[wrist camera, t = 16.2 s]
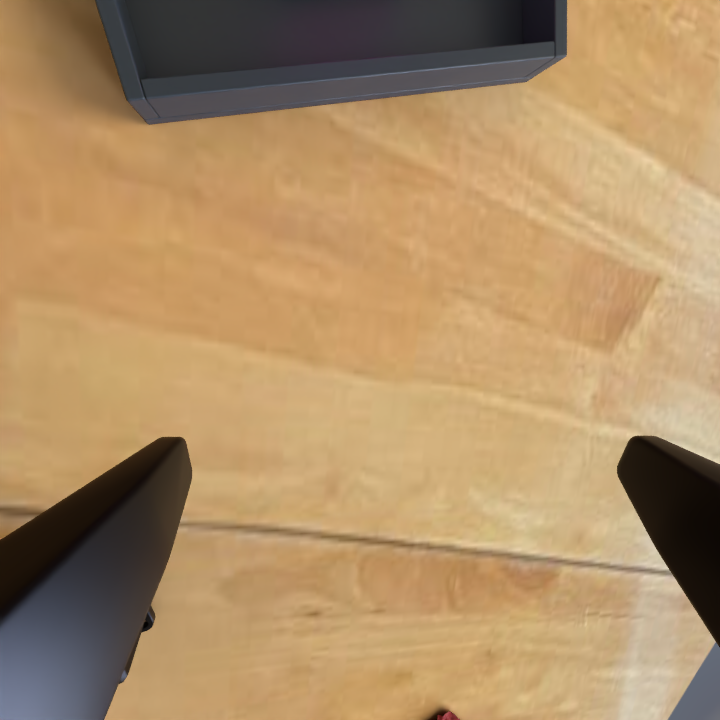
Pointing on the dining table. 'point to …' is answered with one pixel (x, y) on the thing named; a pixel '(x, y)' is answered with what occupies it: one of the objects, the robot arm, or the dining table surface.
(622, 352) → the dining table surface
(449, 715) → the plate with food
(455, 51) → the serving tray
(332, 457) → the dining table surface
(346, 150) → the dining table surface
